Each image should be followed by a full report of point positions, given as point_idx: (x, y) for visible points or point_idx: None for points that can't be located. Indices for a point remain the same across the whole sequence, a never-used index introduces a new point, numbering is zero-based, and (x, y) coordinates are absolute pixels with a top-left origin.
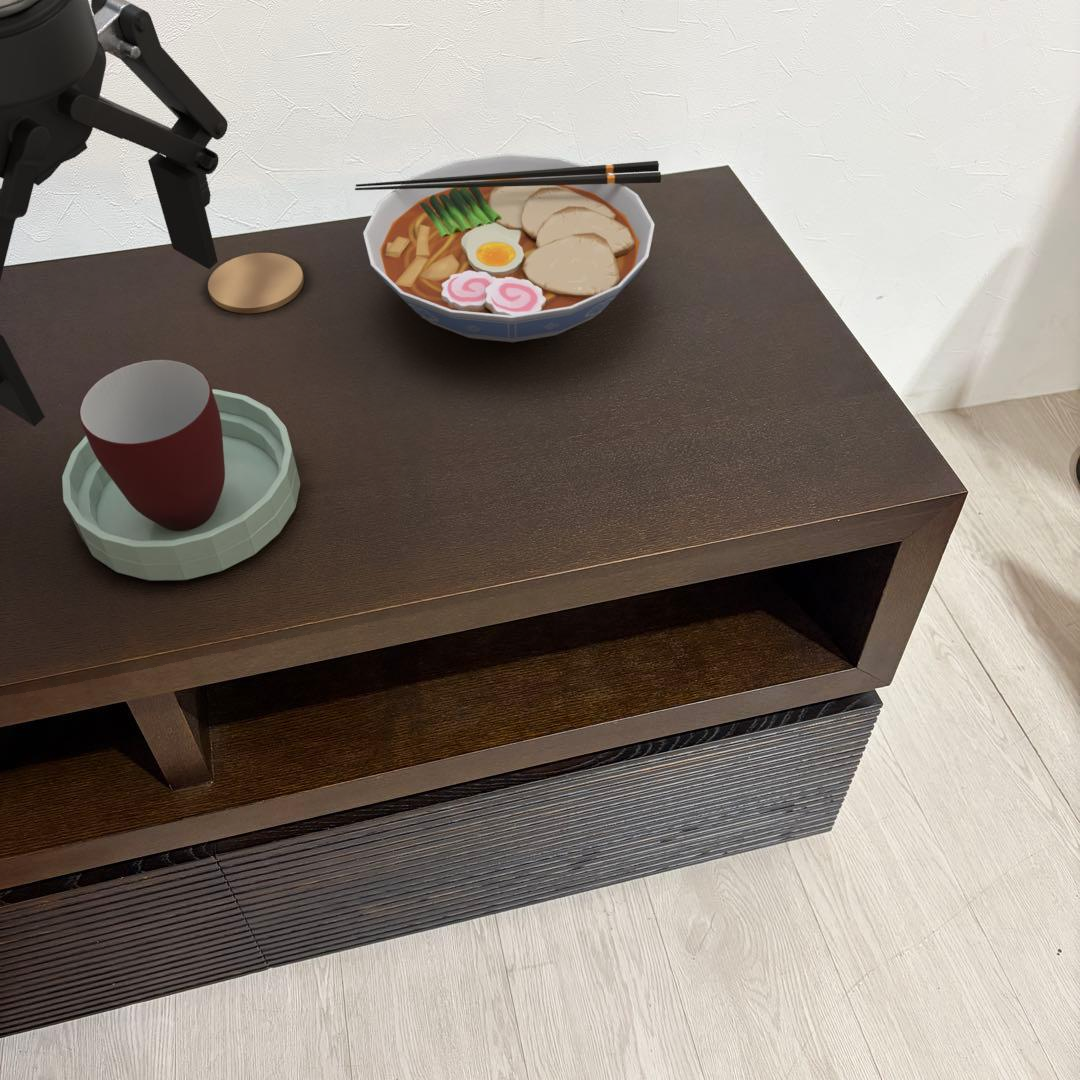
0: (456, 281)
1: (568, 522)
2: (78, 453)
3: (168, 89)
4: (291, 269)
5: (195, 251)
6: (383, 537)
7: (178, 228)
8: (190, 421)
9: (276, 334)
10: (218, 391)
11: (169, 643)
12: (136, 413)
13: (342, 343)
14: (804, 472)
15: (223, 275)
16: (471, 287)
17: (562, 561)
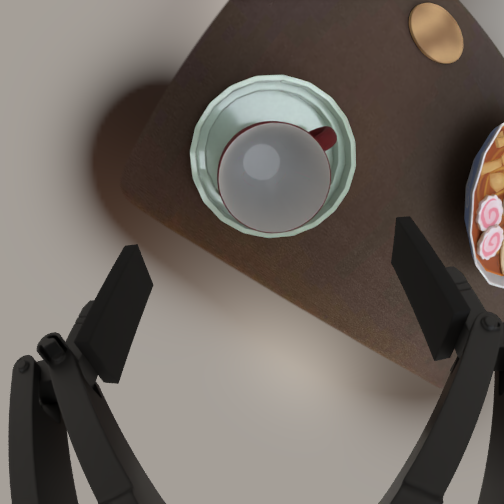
0: (492, 202)
1: (379, 322)
2: (233, 90)
3: (483, 480)
4: (457, 48)
5: (398, 261)
6: (322, 265)
7: (409, 259)
8: (304, 152)
9: (415, 76)
10: (346, 121)
11: (188, 236)
12: (278, 127)
13: (432, 121)
14: (439, 360)
15: (428, 10)
16: (491, 214)
17: (357, 336)
